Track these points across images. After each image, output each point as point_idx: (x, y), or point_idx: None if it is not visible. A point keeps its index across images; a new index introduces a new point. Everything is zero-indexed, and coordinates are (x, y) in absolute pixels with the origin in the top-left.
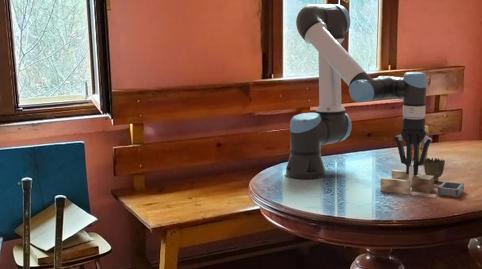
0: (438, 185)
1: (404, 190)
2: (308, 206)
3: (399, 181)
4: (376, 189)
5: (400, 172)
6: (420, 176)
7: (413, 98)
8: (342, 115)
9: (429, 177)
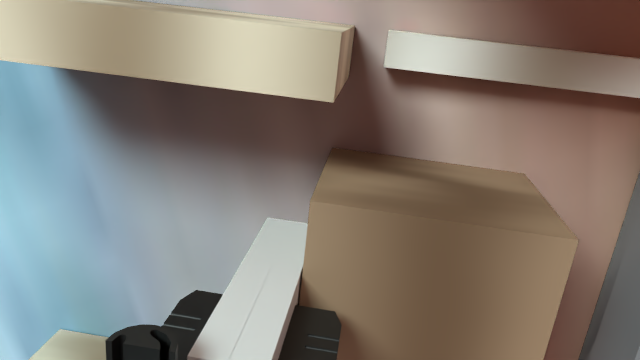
0: (591, 91)
1: None
2: None
3: None
4: (18, 329)
5: (55, 65)
6: (381, 325)
7: None
8: None
9: (510, 348)
